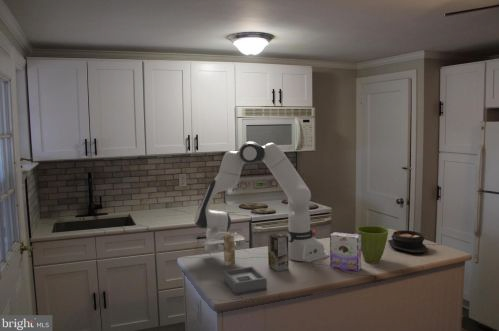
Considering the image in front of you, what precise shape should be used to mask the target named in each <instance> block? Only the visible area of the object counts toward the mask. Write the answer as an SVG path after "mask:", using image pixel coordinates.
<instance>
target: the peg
mask: <svg viewBox="0 0 499 331" xmlns="http://www.w3.org/2000/svg"><path fill="white" fill-rule="evenodd" d="M224 246H226V250H223V255H224V256H223V257H224V258H223V259H224V261H223V262H224V264H225V266H228V267H229V266H234V265H236V249H235V244H234V235H233V234H225V235H224Z"/></svg>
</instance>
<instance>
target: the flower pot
mask: <svg viewBox="0 0 499 331" xmlns="http://www.w3.org/2000/svg"><path fill="white" fill-rule="evenodd" d="M356 231H357V232H356V233H357V235H361V256H363V260H364V261H365V262H366V263H370V264H371V263H372V264H376V263H380V261H381V260H382V257H383V254H384V252H385V248H386V245H387V242H388V238H389V236H388V235H389V229H388V228H387V227H383V226H374V225H364V226H363V225H362V226H359V227H357V229H356Z"/></svg>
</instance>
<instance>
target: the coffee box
mask: <svg viewBox="0 0 499 331" xmlns="http://www.w3.org/2000/svg"><path fill="white" fill-rule="evenodd" d="M267 253H268V254H267V255H268V256H267V260H268V264H267V266H268V267H269V268H271V269H273V270H275V271H277V272H281V271H286V270H290V269H289V265H290V262H289V259H288V235H286V234H282V233H279V232H275V233H269V234H267Z"/></svg>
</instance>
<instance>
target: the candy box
mask: <svg viewBox="0 0 499 331" xmlns="http://www.w3.org/2000/svg"><path fill="white" fill-rule="evenodd" d="M329 239H330V240H329V251H330V252H329V258H330V259H329V260H330V266H329V267H330V268H332V269H338V270H344V271H345V270H346V271H352V272H359V271H360V270H361V269H362V251H361V235H358V234H354V233H353V234H352V233H345V232H338V231H337V232H335V231H334V232H332V233H331V234H330V235H329Z"/></svg>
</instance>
